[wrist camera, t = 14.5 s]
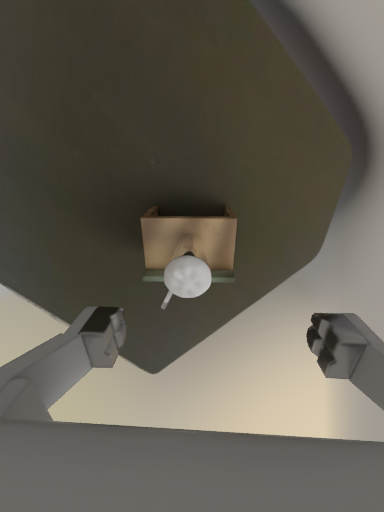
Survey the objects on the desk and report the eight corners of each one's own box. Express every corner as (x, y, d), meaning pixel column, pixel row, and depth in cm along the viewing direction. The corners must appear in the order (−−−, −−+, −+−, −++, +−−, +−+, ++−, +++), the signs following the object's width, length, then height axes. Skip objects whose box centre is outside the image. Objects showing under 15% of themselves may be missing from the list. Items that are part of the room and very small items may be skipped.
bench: (230, 206, 31) (240, 223, 23) (226, 254, 35) (234, 283, 27) (152, 206, 32) (135, 222, 24) (156, 253, 35) (142, 281, 27)
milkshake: (162, 248, 27) (143, 293, 18) (191, 221, 25) (186, 256, 16) (186, 270, 28) (179, 322, 19) (215, 246, 27) (223, 291, 18)
